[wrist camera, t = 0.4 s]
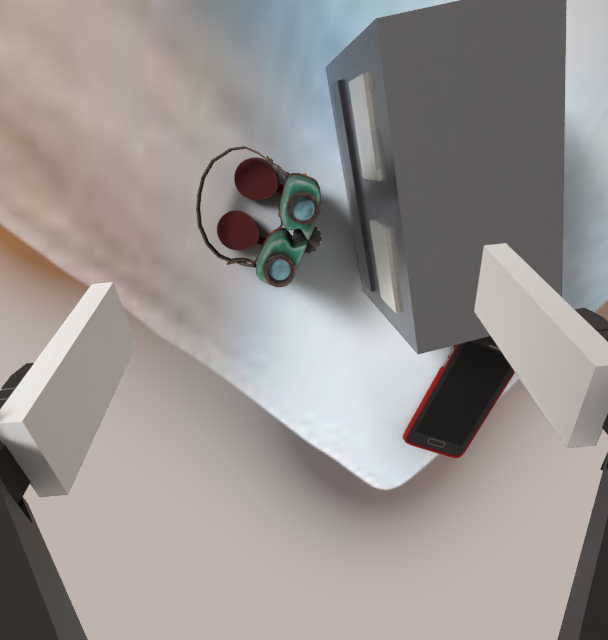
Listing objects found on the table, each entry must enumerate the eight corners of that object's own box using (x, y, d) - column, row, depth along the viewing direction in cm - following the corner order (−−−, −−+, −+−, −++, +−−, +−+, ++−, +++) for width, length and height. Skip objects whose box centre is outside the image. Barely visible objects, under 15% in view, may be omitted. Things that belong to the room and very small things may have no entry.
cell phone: (398, 437, 49) (401, 443, 48) (464, 321, 45) (468, 325, 44) (456, 455, 51) (460, 460, 50) (523, 345, 47) (529, 349, 46)
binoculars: (199, 125, 26) (352, 190, 28) (223, 137, 36) (334, 184, 38) (158, 263, 29) (299, 315, 31) (190, 239, 39) (296, 279, 41)
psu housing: (322, 67, 35) (370, 19, 22) (447, 40, 35) (566, -23, 22) (360, 292, 42) (413, 355, 29) (463, 266, 43) (561, 317, 30)
